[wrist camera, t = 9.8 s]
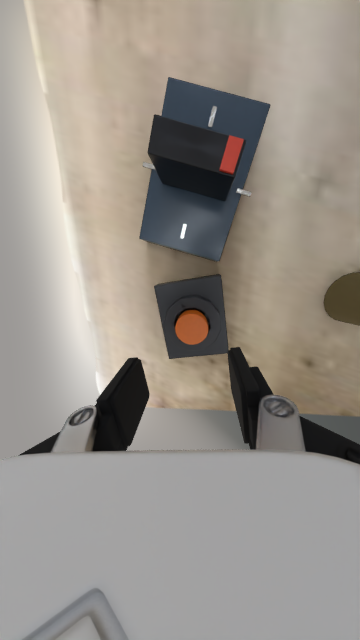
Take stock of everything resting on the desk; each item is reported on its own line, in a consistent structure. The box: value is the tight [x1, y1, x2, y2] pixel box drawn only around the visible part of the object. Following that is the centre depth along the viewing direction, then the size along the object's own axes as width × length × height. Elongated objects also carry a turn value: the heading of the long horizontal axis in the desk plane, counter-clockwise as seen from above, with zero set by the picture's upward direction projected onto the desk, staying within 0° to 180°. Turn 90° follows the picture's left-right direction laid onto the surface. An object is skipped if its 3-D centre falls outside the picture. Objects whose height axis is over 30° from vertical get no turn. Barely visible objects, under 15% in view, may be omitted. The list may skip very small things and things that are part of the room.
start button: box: [175, 310, 208, 345], centre depth 20 cm, size 4×4×2 cm
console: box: [140, 77, 270, 262], centre depth 18 cm, size 13×11×3 cm
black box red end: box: [148, 115, 246, 201], centre depth 14 cm, size 6×2×5 cm, turn 74°
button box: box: [154, 274, 229, 359], centre depth 22 cm, size 10×8×4 cm
